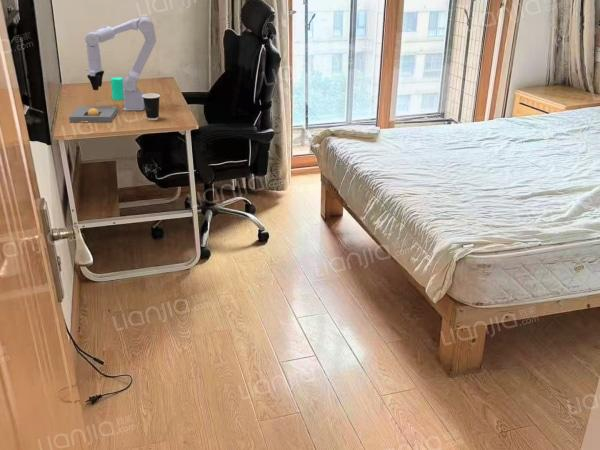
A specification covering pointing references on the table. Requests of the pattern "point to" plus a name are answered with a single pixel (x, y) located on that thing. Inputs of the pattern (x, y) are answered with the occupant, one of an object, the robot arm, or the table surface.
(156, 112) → the dixie cup
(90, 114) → the ball
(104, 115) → the plate
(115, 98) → the candle
